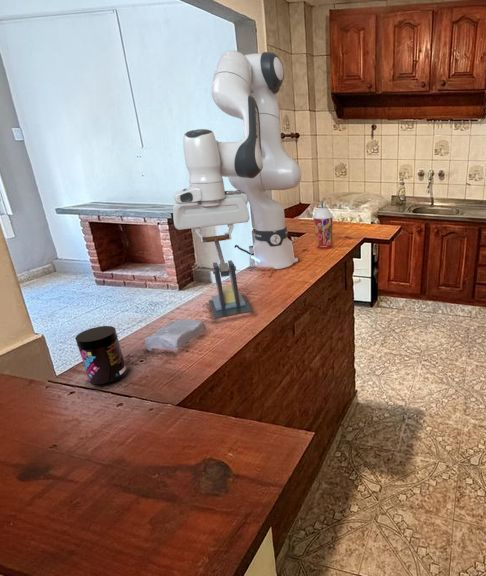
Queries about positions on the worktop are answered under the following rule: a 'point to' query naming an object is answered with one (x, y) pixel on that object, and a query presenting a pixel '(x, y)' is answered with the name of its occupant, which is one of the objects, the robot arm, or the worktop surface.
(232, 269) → the butter cutter
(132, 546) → the worktop surface
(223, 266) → the arm
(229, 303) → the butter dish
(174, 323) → the stone block
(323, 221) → the smoothie
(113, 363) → the supplement container
